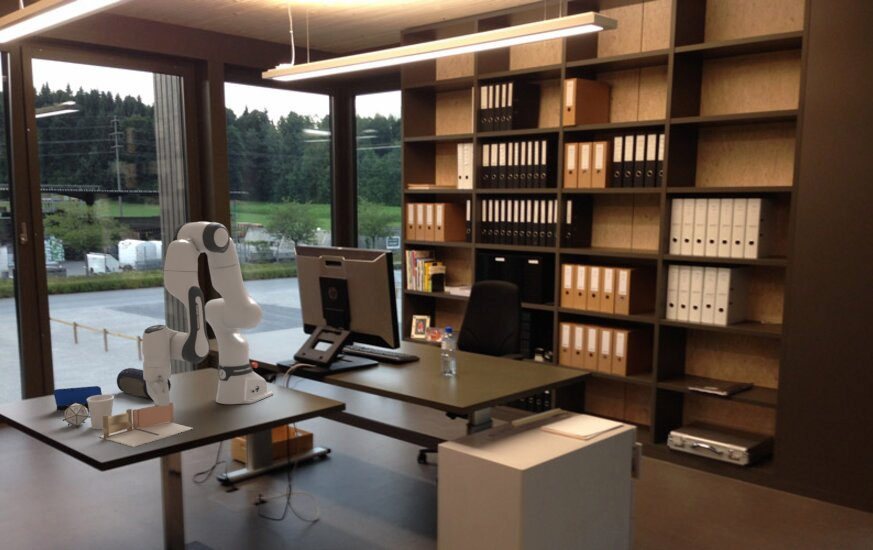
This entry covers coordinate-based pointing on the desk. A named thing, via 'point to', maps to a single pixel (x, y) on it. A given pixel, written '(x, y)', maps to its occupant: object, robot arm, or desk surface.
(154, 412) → the fence gate
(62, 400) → the handheld game console
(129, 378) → the portable speaker
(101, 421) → the dixie cup
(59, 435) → the desk surface
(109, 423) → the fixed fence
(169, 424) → the card
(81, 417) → the game die
